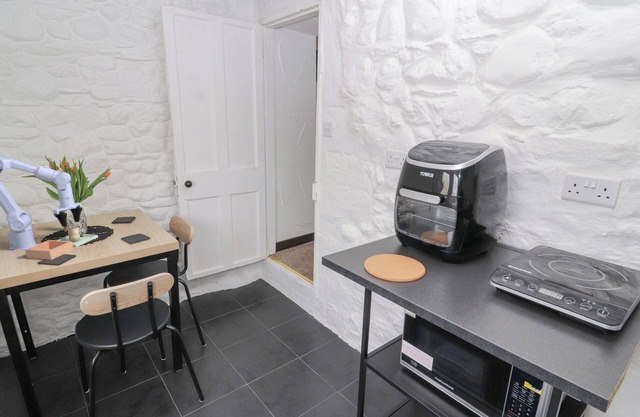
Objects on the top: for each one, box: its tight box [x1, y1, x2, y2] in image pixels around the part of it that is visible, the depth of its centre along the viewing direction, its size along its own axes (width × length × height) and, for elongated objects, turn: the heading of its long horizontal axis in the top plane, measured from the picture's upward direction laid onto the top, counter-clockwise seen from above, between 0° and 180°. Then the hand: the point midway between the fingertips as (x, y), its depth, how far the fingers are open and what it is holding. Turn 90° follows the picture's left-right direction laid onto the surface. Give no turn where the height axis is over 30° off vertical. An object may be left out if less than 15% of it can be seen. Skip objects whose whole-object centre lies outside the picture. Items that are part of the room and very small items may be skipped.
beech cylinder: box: [67, 226, 81, 242], centre depth 175 cm, size 5×5×6 cm
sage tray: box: [56, 233, 99, 248], centre depth 175 cm, size 14×14×2 cm
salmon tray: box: [24, 239, 74, 261], centre depth 159 cm, size 12×12×4 cm
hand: (70, 224), depth 173 cm, fingers open, 7 cm apart
